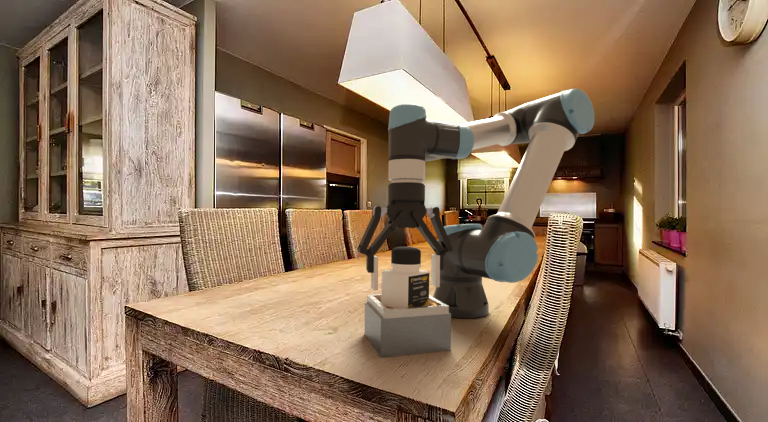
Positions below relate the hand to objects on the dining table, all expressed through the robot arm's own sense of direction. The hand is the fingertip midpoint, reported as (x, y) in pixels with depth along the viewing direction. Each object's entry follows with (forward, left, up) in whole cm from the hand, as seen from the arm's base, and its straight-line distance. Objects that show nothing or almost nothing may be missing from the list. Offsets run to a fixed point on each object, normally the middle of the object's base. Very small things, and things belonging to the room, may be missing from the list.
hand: (405, 287), depth 74 cm
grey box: (0, 0, -11) cm, 11 cm away
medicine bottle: (0, 0, -4) cm, 4 cm away
